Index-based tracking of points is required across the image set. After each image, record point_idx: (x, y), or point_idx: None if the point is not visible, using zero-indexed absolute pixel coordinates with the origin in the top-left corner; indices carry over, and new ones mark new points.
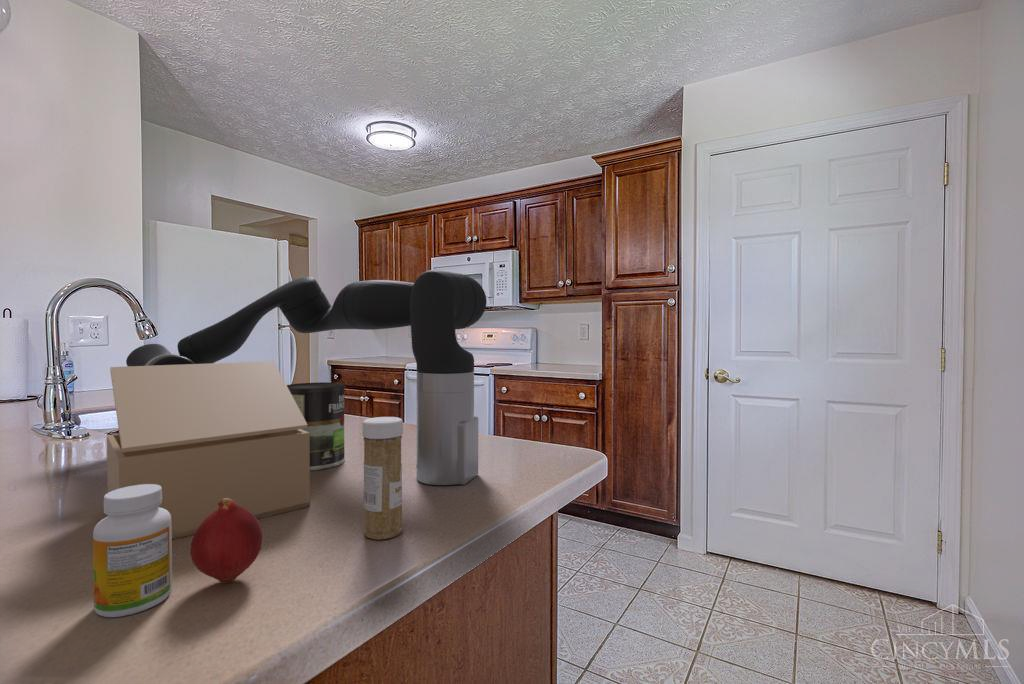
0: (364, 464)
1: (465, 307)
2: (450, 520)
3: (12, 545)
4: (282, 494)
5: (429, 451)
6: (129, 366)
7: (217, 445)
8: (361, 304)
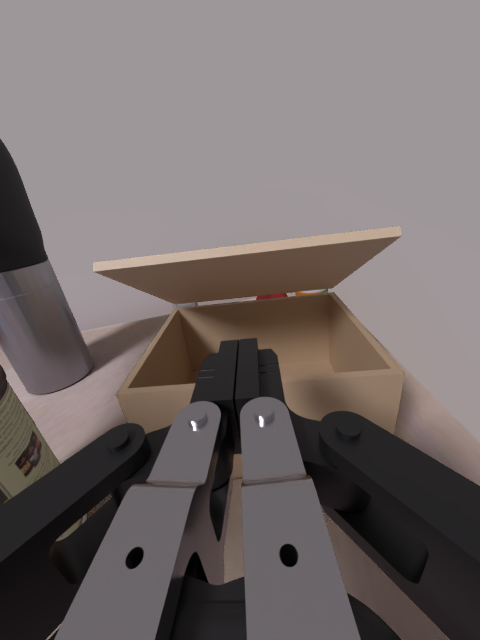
0: None
1: None
2: (155, 326)
3: (446, 412)
4: None
5: (81, 338)
6: (367, 230)
7: (258, 300)
8: None
